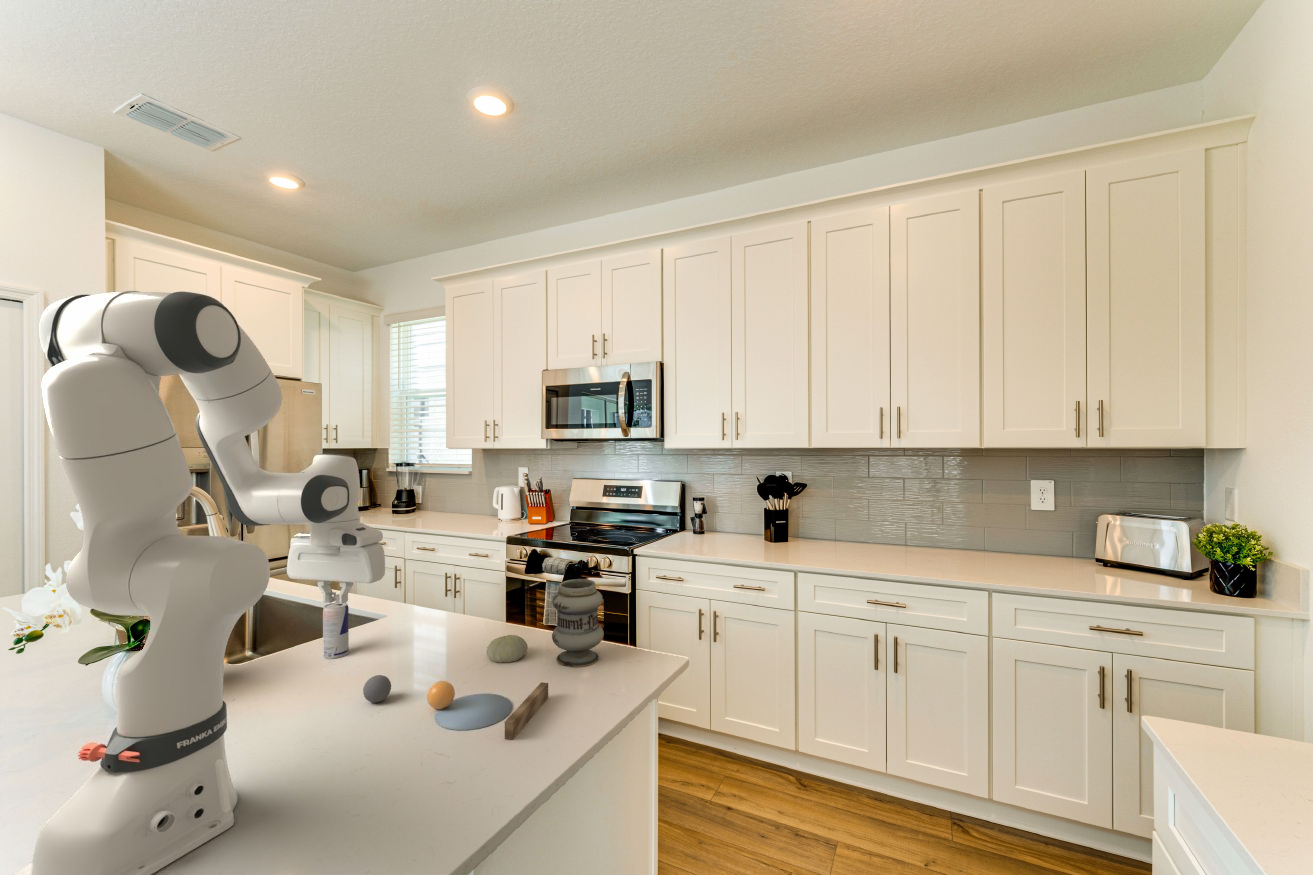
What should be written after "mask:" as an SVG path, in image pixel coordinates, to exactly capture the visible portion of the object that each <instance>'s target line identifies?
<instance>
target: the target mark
mask: <svg viewBox="0 0 1313 875" xmlns="http://www.w3.org/2000/svg"><path fill="white" fill-rule="evenodd" d="M512 710H513V703H512V702H511V700H510V699H509V698H508V697H506V696H503V695H500V694H496V693H476V694H469V695H464V696H461V697H457V698H454V699H453V701H452V703H451V704H450V705H449V706H448V707H446V708H444V709H437V710H436V713H435V714H434V720H436V721H435V722H436V724H437V725H438V724H439V725H438V726H440V727H441V726H442V727H441V728H444V729H446V728H447V729H446V730H452V731H471V730H480V729H483V728H486V727H490V726H493V725H495V724H497V723H499V722H501V721H502V720H504V719H505V718H507V717H508V716H510V713H511V712H512Z"/></svg>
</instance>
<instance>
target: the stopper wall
mask: <svg viewBox="0 0 1313 875" xmlns="http://www.w3.org/2000/svg"><path fill="white" fill-rule="evenodd" d="M548 699H549V682H545V681H544V682H543V681H542V682H540V683H539V684H538V685H537V686H536V687H535V688H534V690H533V691H532V692H530V694H528V696H527V697H526V698H525V699H524V700H523V701H522V703H521V704H519V706H518V707H517V708H516V709H515V710H514V711H513V712H512V713H511V714H509V717H507V719H506V720H505V721H504V740H510V741H513V740H514V739H515V737H517V735H518V734H519V733H520V732H521V731H522V730H523V728H524V727H525V726H526V725H527V724H528V723H529V721H530V720H531V719H532V717H533V716H534V715H535V714H536V713H537V712H538V711H539V709H540V708H541V707H542V706H543V705H544V704H545V702H546V701H547V700H548Z"/></svg>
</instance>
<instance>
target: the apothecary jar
mask: <svg viewBox="0 0 1313 875" xmlns="http://www.w3.org/2000/svg"><path fill="white" fill-rule="evenodd" d="M595 582H596V581H594V580H592V579H587V578H586V579H585V578H577V579H568V580H565V581H562V582H561V583H560V584H559V585H558V591H557V592H556V593H555V594H554V595H553V596H552V599H551V600H552V601H551V602H552V603H551V604H552V606H553V608H554V609H555V610H556V615H557V616H556V617H557V621H556V622H557V623H556V627H555V628H554V629H553V631H552V634H551V640H552V642H553V643H554V645H555V646H556V647H557V648H559V649H561V650H564V651H563V652H561V653H559V654H558V655H557V657H556V662H557V663H558V665H561V666H563V667H567V666H568V667H570V668H584V667H588V666H592V665H594V664H595V663H597V662H598V660H599V657H600V656H599V654H598V653H597V652H596V651H593V650H592V649H593V648H594V647H596V646H598V645H599V644H600V643H601V642H602V641H603V639H604V635H605V634H604V630H603V627H602V626H601V625H600V624H599V616H598V611H599V607H601V605H602V604H603V601H604V600H603V599H604V598H603V594H601V592H600V591H598V590H597V588H596V583H595Z"/></svg>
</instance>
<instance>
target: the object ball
mask: <svg viewBox="0 0 1313 875" xmlns="http://www.w3.org/2000/svg"><path fill="white" fill-rule="evenodd" d="M455 695H456V692H455V688H454V685H453V684H452V683H451V682H449V681H447V680H440V681H437V682H434V684H432V685H431V686H430V688H429V689H428V691H427V696H426V697H427V698H426V700H427V704H429V706H430V707H431V708H432V709H435V710H438V709H444V708H446V707H448V706H449V705H450V704H451V703H452V701H453V700H454V699H455Z"/></svg>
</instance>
